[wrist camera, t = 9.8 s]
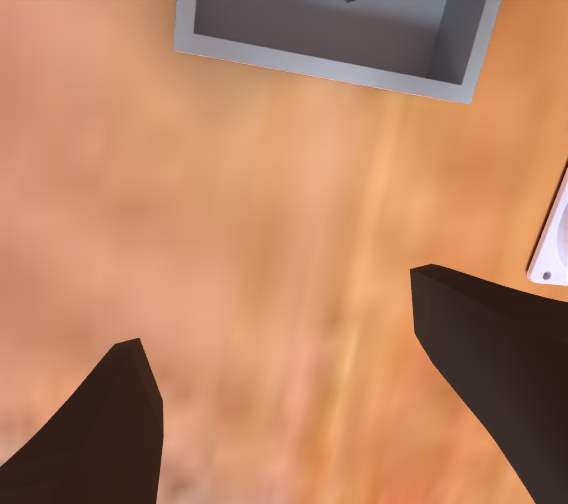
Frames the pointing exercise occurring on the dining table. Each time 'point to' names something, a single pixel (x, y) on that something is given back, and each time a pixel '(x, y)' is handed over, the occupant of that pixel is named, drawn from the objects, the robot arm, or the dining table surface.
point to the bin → (348, 40)
